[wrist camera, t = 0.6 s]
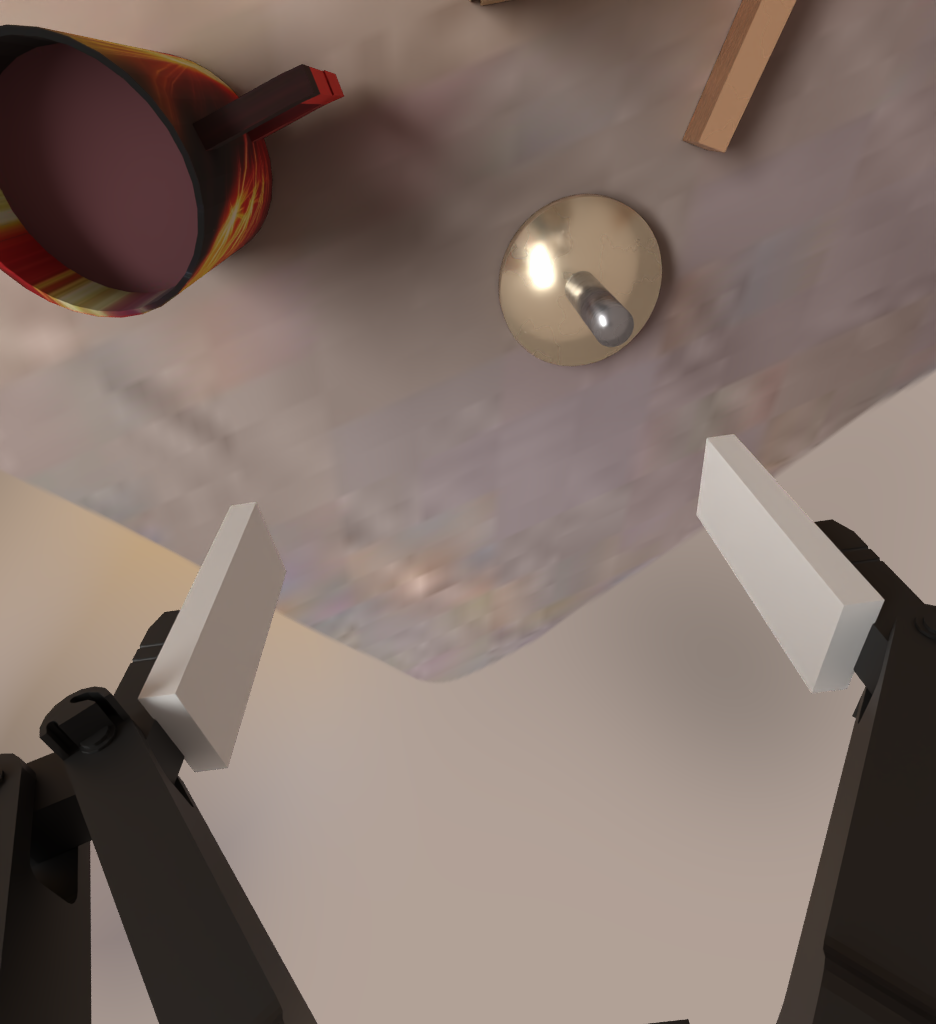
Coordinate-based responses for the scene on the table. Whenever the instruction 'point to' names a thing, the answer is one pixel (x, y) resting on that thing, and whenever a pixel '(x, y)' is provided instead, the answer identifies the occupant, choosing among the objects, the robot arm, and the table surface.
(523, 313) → the peg stand
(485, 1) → the oak ring
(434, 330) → the table surface
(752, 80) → the bent hammer
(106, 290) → the mug
